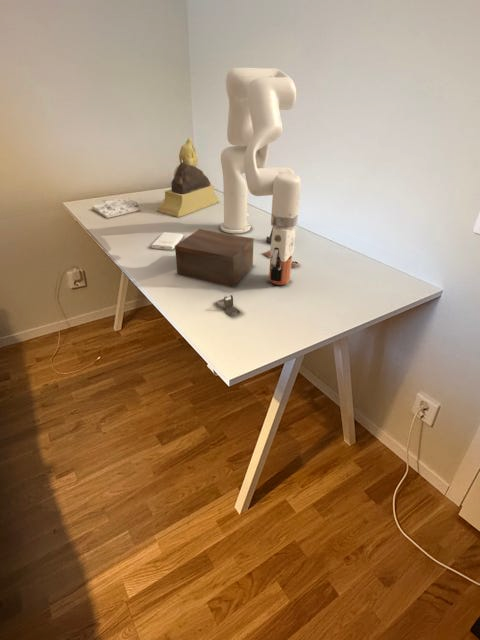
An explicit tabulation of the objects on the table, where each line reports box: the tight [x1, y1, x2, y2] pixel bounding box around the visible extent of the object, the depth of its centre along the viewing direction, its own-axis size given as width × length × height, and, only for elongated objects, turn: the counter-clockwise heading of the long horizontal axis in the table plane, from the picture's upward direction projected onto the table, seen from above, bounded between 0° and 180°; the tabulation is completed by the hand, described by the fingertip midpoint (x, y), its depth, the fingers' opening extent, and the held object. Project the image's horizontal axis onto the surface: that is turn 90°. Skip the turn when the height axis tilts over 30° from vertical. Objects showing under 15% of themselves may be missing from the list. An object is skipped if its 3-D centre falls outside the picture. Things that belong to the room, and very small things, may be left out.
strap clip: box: [215, 294, 241, 317], centre depth 107 cm, size 8×3×4 cm, turn 37°
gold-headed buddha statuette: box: [157, 137, 219, 218], centre depth 175 cm, size 28×13×30 cm, turn 144°
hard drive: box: [151, 231, 184, 251], centre depth 146 cm, size 2×8×12 cm
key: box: [263, 250, 299, 268], centre depth 135 cm, size 6×1×15 cm
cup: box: [268, 255, 293, 286], centre depth 119 cm, size 6×6×8 cm
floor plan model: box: [92, 197, 140, 219], centre depth 181 cm, size 19×25×2 cm
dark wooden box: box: [174, 228, 255, 288], centre depth 125 cm, size 16×20×10 cm
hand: (279, 274), depth 120 cm, fingers closed on cup, 6 cm apart
